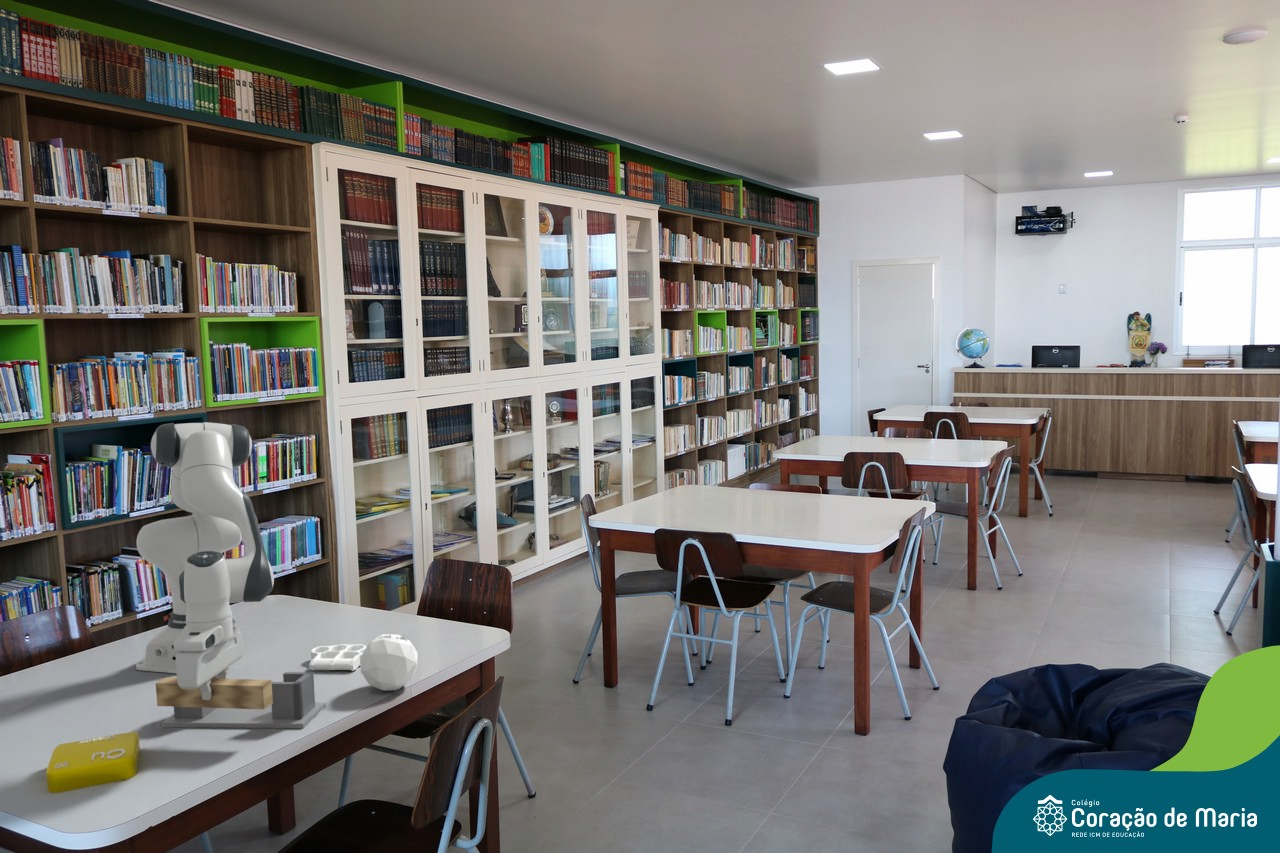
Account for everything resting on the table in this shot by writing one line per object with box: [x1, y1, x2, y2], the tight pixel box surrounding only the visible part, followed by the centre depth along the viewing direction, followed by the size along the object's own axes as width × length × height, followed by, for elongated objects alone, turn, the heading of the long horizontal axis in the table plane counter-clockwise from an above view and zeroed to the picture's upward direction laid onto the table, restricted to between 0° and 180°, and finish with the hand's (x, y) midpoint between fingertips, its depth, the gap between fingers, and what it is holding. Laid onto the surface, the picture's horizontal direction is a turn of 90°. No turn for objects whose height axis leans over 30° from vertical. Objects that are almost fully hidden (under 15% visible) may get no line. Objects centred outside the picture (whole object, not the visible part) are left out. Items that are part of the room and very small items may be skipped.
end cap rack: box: [161, 671, 327, 729], centre depth 214 cm, size 32×12×9 cm, turn 85°
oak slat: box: [155, 676, 273, 709], centre depth 201 cm, size 24×4×5 cm, turn 83°
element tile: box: [45, 731, 141, 794], centre depth 188 cm, size 15×15×5 cm
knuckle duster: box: [308, 643, 368, 671], centre depth 249 cm, size 3×18×15 cm
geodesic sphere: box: [360, 633, 419, 692], centre depth 229 cm, size 14×14×14 cm
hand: (214, 694), depth 201 cm, fingers closed on oak slat, 4 cm apart
